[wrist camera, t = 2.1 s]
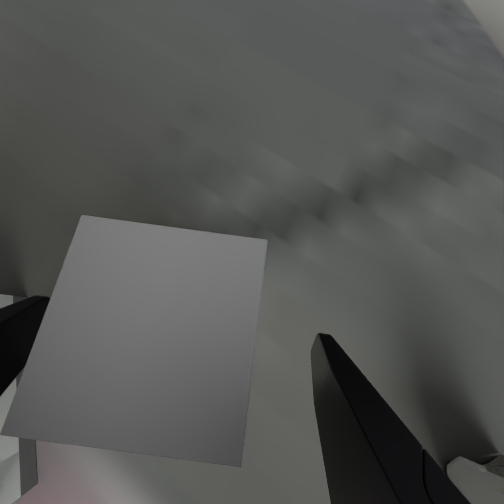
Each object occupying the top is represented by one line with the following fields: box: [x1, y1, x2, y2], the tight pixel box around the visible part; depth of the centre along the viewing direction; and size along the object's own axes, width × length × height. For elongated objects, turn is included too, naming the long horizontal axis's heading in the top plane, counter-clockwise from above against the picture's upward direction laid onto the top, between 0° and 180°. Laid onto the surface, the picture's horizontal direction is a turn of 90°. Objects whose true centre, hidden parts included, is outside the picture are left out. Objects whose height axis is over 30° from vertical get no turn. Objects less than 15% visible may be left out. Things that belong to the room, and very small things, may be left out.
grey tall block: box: [0, 215, 267, 467], centre depth 10 cm, size 4×4×11 cm
